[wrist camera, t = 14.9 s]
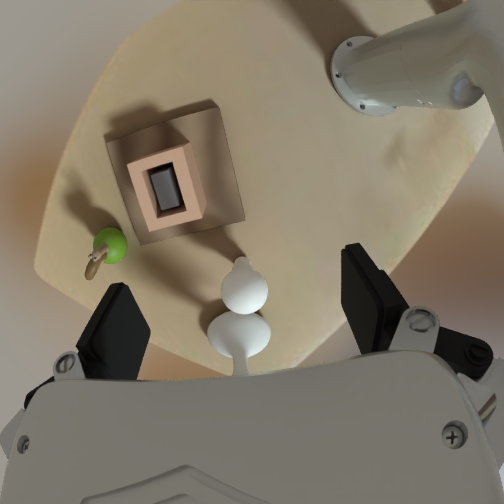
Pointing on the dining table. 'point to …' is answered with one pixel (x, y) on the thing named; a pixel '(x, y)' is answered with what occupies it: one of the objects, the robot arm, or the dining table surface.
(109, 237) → the snail figurine
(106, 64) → the dining table surface
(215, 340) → the flower in vase
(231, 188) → the hub plate
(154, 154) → the tan rectangular frame
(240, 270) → the lightbulb
